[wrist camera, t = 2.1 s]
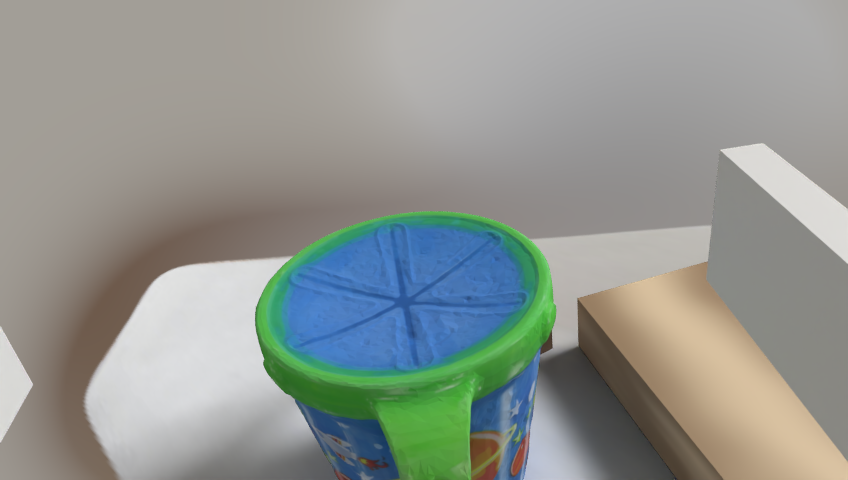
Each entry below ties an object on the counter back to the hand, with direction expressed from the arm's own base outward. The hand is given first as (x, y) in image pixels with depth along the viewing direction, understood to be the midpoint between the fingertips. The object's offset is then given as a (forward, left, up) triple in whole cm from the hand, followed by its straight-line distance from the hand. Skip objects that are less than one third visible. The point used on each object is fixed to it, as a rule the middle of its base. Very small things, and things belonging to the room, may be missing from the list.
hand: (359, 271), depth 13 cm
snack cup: (-2, -10, -18) cm, 20 cm away
